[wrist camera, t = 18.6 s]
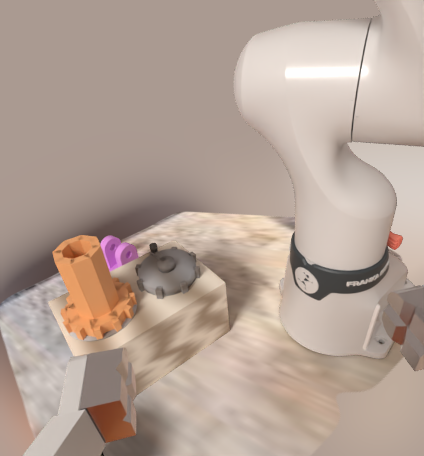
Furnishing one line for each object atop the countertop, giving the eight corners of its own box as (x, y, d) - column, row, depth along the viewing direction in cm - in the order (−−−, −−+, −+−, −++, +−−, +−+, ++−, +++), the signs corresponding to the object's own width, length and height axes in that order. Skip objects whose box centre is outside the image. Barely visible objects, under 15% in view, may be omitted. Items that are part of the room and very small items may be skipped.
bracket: (122, 260, 68) (113, 231, 64) (142, 270, 66) (134, 240, 62) (66, 302, 60) (51, 273, 56) (85, 315, 57) (72, 285, 53)
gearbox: (183, 284, 61) (170, 218, 53) (229, 330, 52) (223, 259, 44) (71, 348, 52) (36, 280, 44) (105, 416, 43) (68, 347, 35)
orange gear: (148, 290, 46) (131, 229, 40) (114, 346, 39) (88, 283, 34) (90, 281, 49) (67, 222, 43) (49, 332, 42) (14, 271, 36)
